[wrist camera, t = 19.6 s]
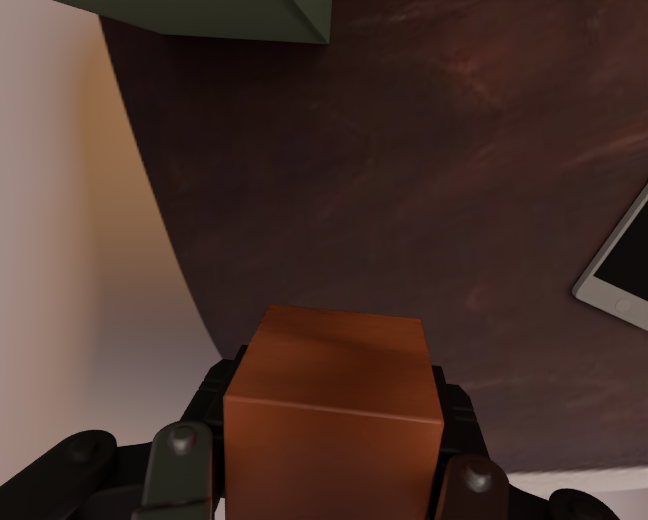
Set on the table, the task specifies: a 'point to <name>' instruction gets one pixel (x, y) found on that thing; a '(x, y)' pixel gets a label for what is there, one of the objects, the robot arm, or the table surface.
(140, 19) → the box
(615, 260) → the smartphone
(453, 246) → the table surface
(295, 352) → the block
